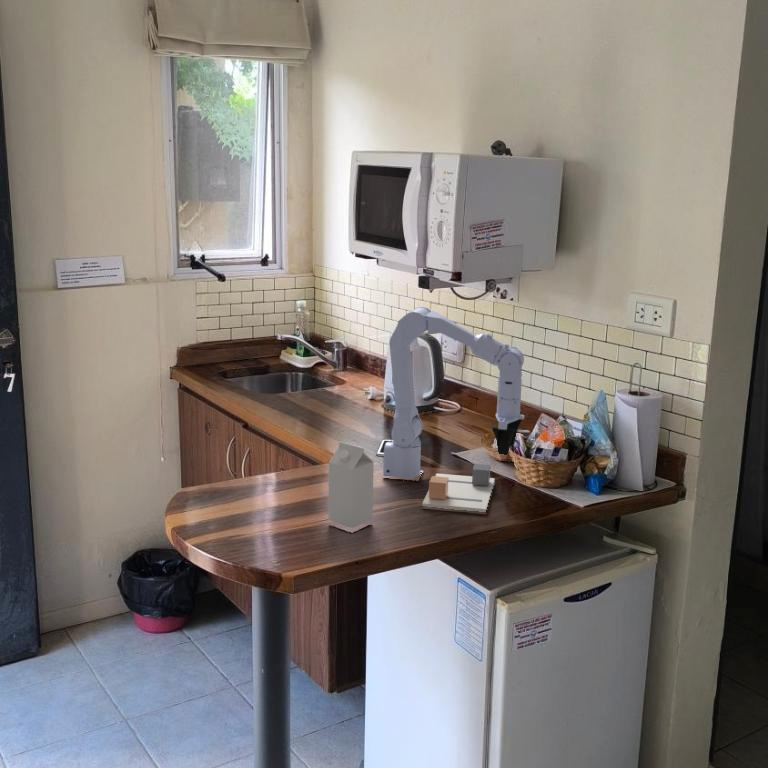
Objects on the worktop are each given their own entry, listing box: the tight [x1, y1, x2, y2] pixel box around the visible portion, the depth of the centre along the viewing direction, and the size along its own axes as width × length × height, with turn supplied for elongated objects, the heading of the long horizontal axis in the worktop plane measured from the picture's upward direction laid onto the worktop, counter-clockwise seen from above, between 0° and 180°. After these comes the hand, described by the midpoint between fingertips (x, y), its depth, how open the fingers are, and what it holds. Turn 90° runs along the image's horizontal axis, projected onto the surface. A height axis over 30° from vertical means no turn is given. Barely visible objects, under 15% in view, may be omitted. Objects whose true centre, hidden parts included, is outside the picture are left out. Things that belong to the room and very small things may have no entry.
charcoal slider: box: [472, 463, 491, 486], centre depth 230 cm, size 4×4×4 cm
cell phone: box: [376, 438, 393, 455], centre depth 262 cm, size 8×15×1 cm, turn 173°
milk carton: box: [327, 441, 374, 528], centre depth 204 cm, size 7×7×19 cm
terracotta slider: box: [428, 475, 448, 499], centre depth 220 cm, size 4×4×4 cm
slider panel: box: [421, 473, 496, 512], centre depth 226 cm, size 15×22×2 cm
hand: (506, 449), depth 231 cm, fingers open, 7 cm apart
